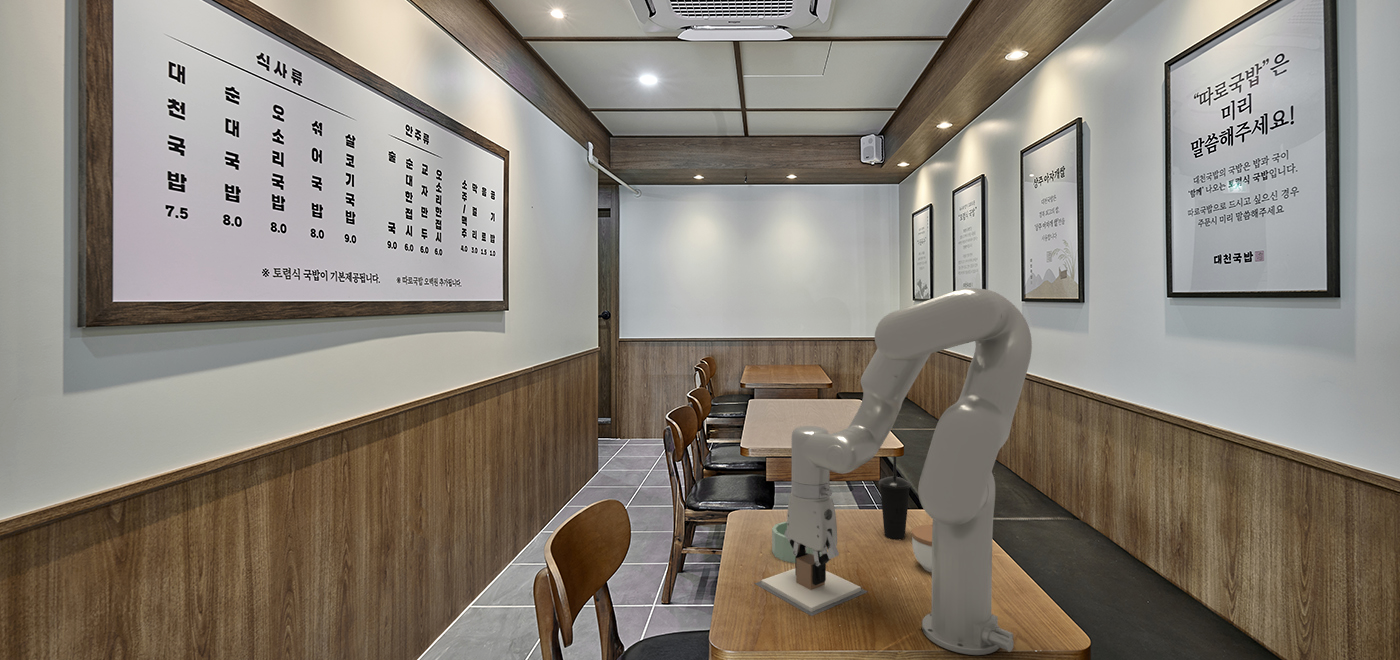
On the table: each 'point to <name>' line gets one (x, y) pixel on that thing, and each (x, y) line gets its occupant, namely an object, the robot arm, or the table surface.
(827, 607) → the mat
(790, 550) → the bowl
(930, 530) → the lidded jar
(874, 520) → the table surface
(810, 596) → the lid
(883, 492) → the drinking cup
